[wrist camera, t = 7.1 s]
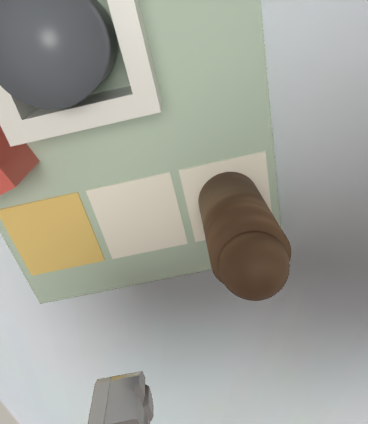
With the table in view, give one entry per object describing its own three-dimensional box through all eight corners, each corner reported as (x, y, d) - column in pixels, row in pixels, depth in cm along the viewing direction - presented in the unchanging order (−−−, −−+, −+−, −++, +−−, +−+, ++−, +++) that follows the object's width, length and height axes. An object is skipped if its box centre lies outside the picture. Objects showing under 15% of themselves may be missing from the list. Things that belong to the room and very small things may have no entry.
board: (241, -142, 14) (247, -154, 13) (279, 246, 24) (284, 256, 23) (-136, -40, 15) (-156, -45, 14) (44, 293, 25) (39, 304, 24)
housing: (121, -69, 14) (112, -90, 12) (161, 99, 18) (161, 112, 15) (-35, -28, 15) (-78, -40, 12) (32, 129, 18) (10, 146, 16)
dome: (99, -27, 15) (78, -43, 11) (129, 80, 17) (119, 95, 13) (1, -2, 15) (-49, -10, 11) (42, 101, 17) (11, 121, 14)
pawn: (255, 166, 20) (307, 241, 13) (260, 220, 21) (307, 313, 14) (193, 178, 20) (210, 258, 13) (203, 230, 22) (222, 327, 14)
